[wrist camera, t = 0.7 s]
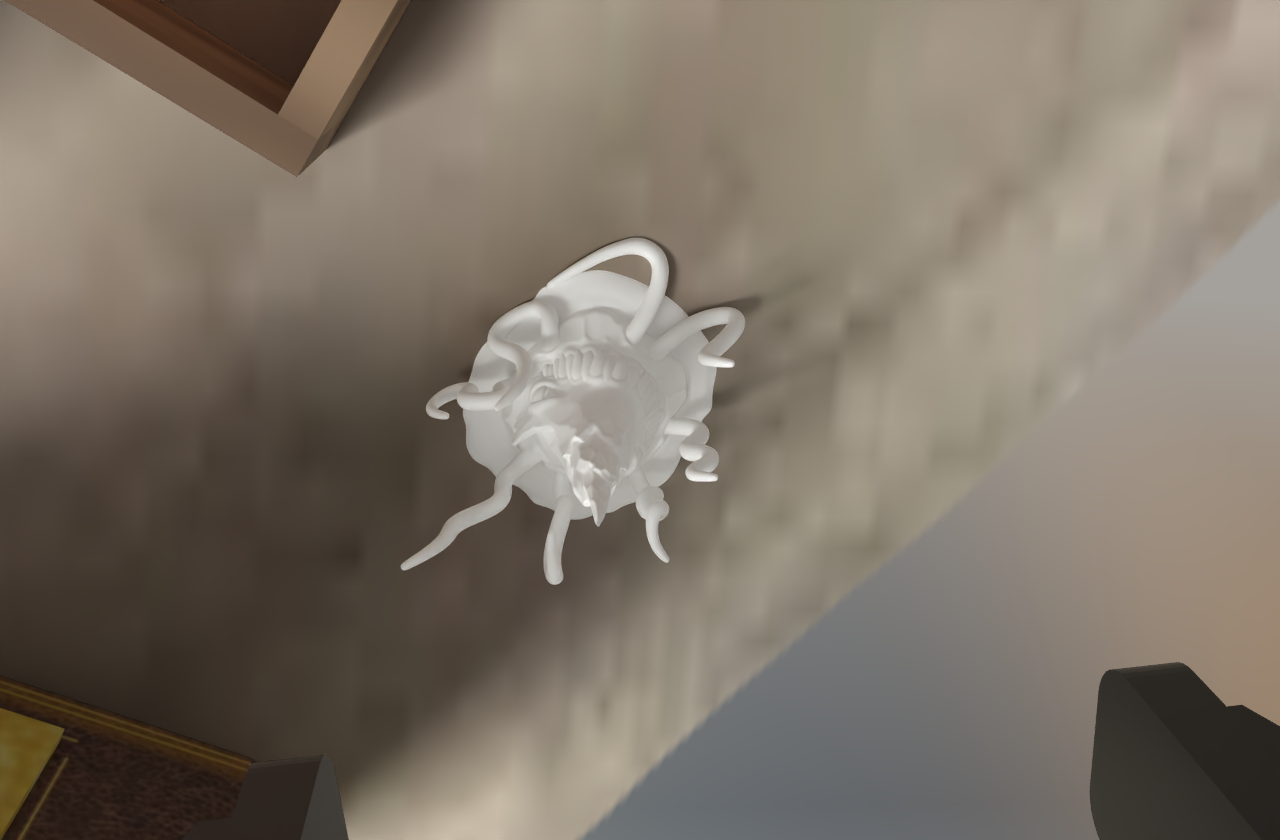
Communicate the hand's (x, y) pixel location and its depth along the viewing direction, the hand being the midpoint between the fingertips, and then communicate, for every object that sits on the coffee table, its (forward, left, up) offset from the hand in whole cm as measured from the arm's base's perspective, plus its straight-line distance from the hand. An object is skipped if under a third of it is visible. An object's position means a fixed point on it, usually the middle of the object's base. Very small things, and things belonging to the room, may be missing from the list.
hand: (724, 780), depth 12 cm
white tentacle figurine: (+5, +3, -29) cm, 29 cm away
